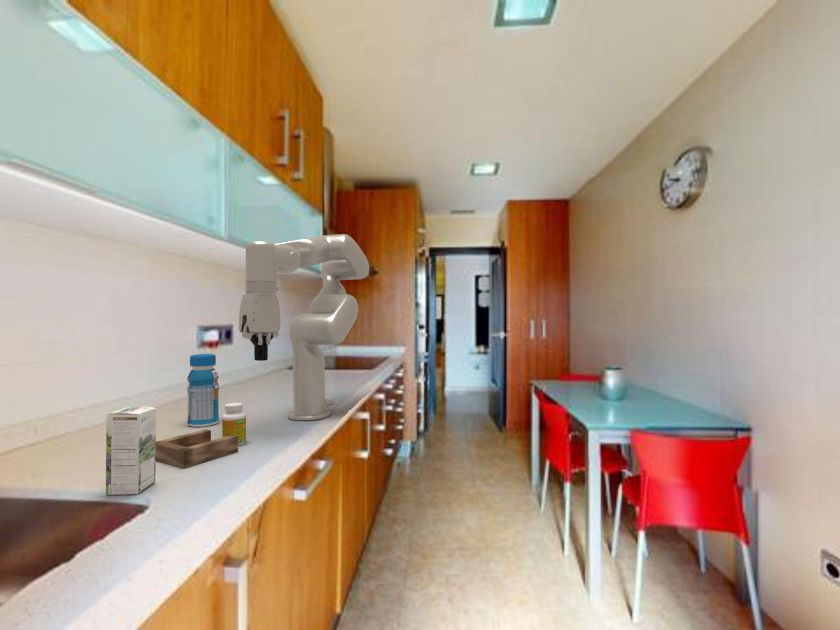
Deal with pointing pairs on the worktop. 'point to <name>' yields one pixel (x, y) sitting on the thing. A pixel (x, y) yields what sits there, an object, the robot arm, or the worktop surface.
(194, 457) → the tray
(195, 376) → the beverage bottle
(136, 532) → the worktop surface
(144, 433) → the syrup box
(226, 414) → the supplement bottle
